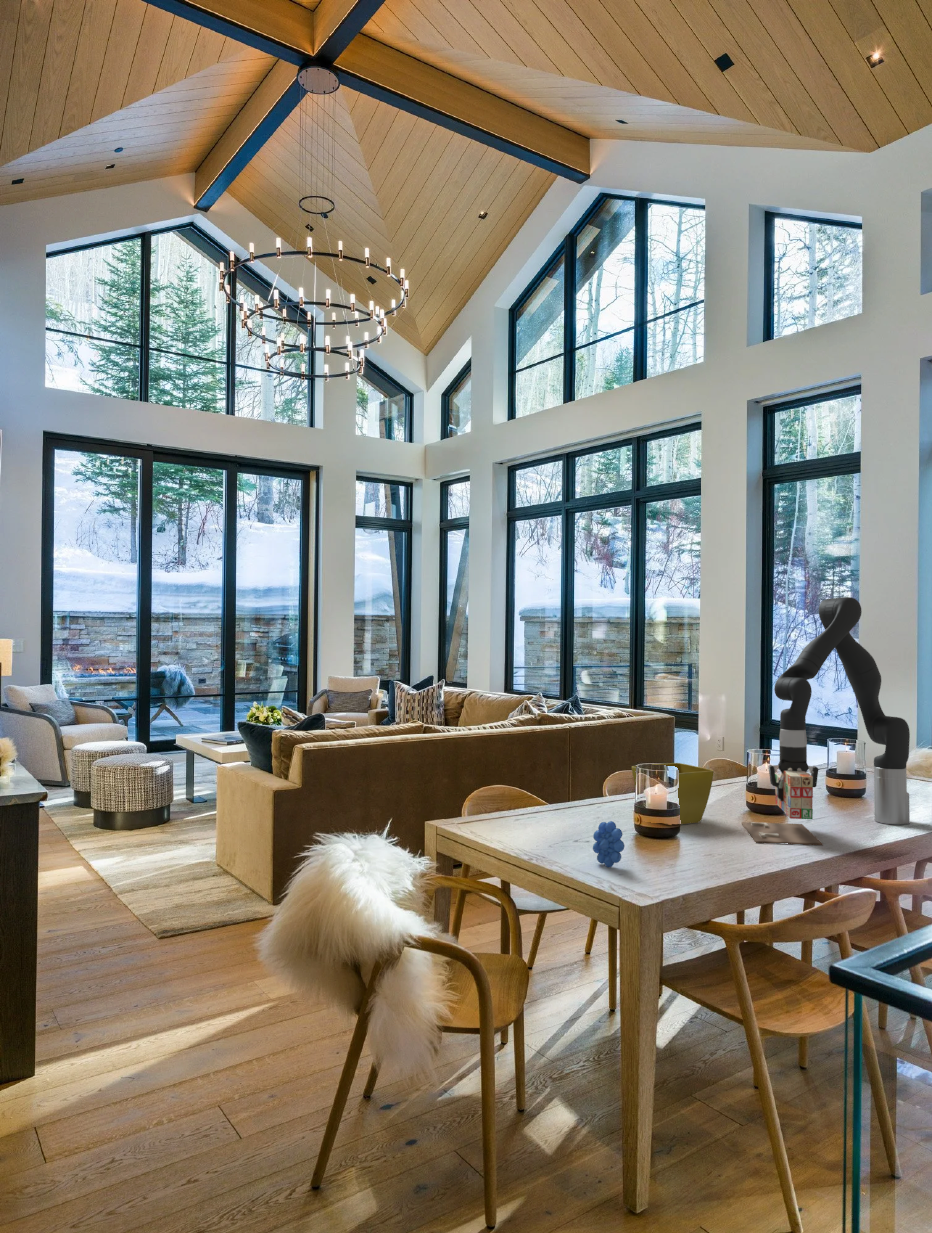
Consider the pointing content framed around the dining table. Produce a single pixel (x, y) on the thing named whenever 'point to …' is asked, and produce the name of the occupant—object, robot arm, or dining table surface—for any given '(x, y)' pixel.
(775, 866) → the dining table surface
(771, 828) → the board
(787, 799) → the stack of blocks
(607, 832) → the grapes
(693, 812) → the flower pot
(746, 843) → the dining table surface
